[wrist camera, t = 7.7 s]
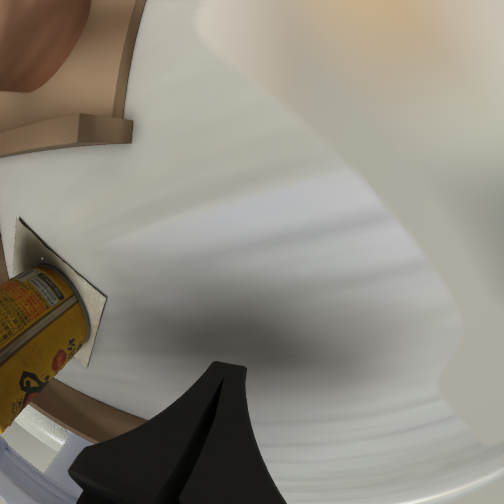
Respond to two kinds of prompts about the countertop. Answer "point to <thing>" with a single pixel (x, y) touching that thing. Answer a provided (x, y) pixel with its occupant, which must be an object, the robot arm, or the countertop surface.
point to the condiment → (41, 322)
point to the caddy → (67, 127)
